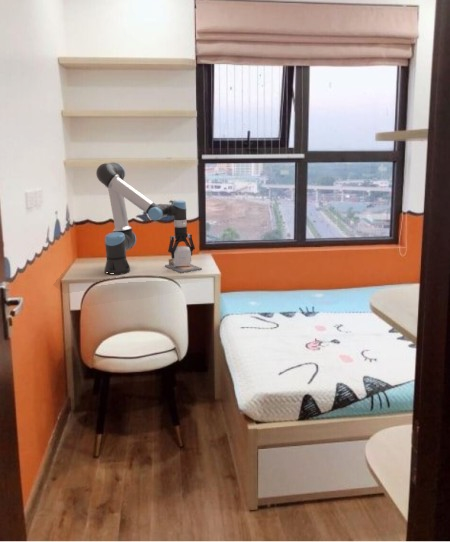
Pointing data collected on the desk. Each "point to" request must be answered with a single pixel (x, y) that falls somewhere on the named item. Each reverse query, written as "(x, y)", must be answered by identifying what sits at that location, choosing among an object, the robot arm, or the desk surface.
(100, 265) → the desk surface
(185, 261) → the photo printer
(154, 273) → the desk surface
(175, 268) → the dock
